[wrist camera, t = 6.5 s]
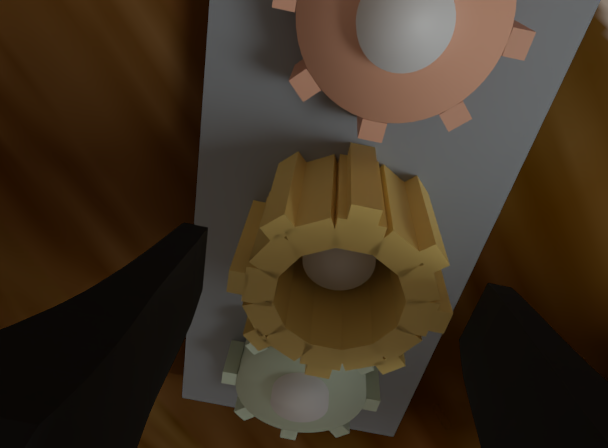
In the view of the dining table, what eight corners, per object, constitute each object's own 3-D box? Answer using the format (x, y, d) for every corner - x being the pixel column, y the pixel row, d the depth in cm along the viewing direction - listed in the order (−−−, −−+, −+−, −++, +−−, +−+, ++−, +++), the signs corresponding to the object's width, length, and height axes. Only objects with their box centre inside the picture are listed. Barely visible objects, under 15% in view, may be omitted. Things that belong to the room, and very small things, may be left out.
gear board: (639, -130, 10) (732, -148, 8) (391, 416, 21) (397, 483, 18) (235, -221, 10) (198, -269, 8) (188, 378, 21) (166, 441, 18)
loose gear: (460, 164, 13) (491, 232, 10) (402, 310, 16) (414, 395, 13) (264, 124, 13) (239, 182, 10) (241, 279, 16) (218, 358, 13)
